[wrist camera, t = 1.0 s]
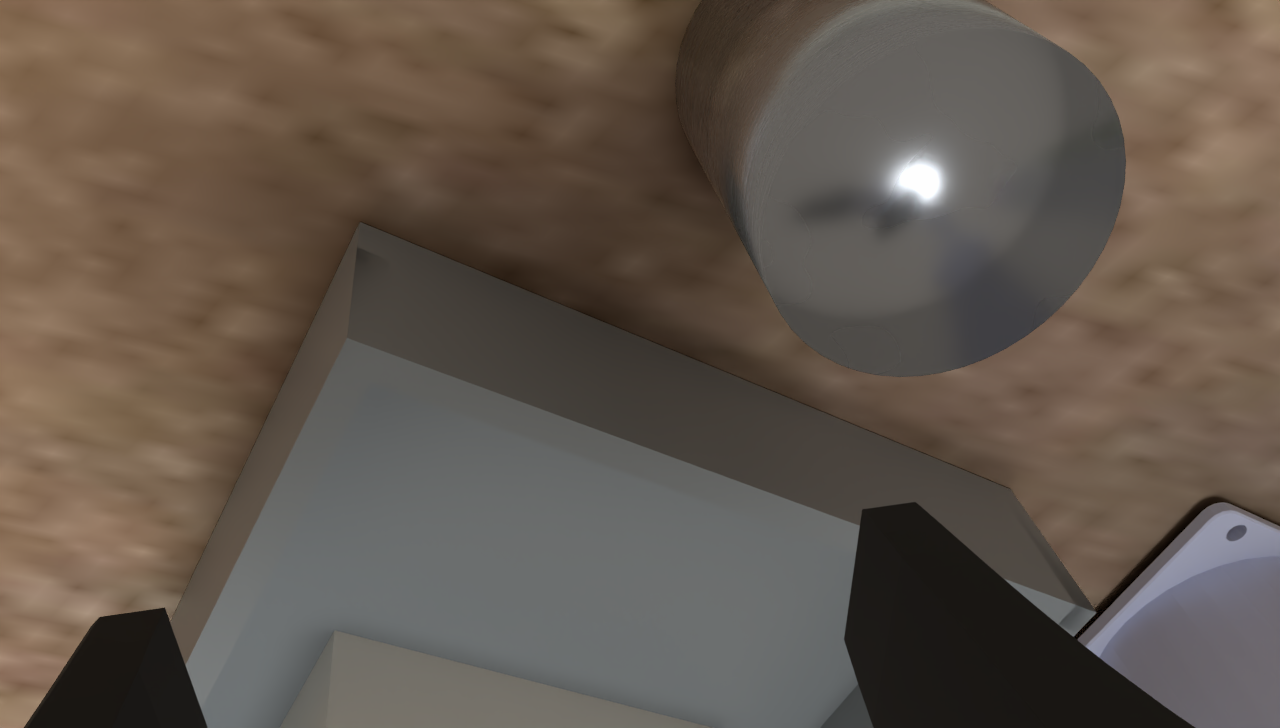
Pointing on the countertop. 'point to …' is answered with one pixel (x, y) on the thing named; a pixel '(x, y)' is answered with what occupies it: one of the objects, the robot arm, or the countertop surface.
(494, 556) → the tote
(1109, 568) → the countertop surface
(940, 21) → the metal can
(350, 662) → the block
